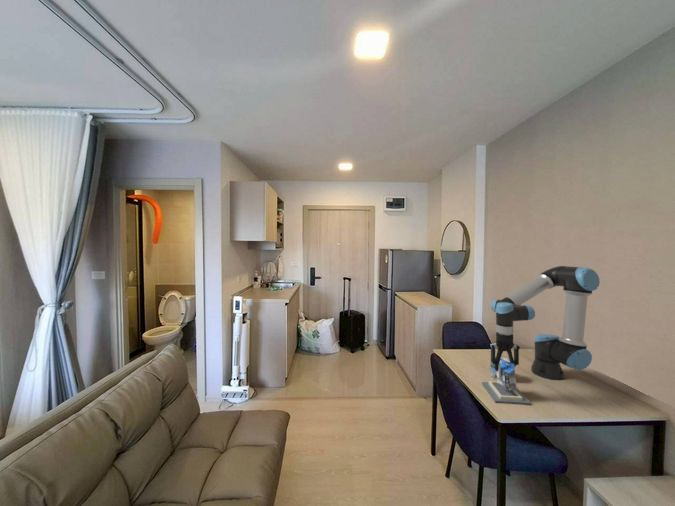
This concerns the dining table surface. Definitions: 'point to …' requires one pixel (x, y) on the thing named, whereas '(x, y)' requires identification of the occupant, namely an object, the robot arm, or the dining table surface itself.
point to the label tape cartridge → (507, 375)
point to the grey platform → (505, 394)
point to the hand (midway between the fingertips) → (504, 377)
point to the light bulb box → (492, 370)
